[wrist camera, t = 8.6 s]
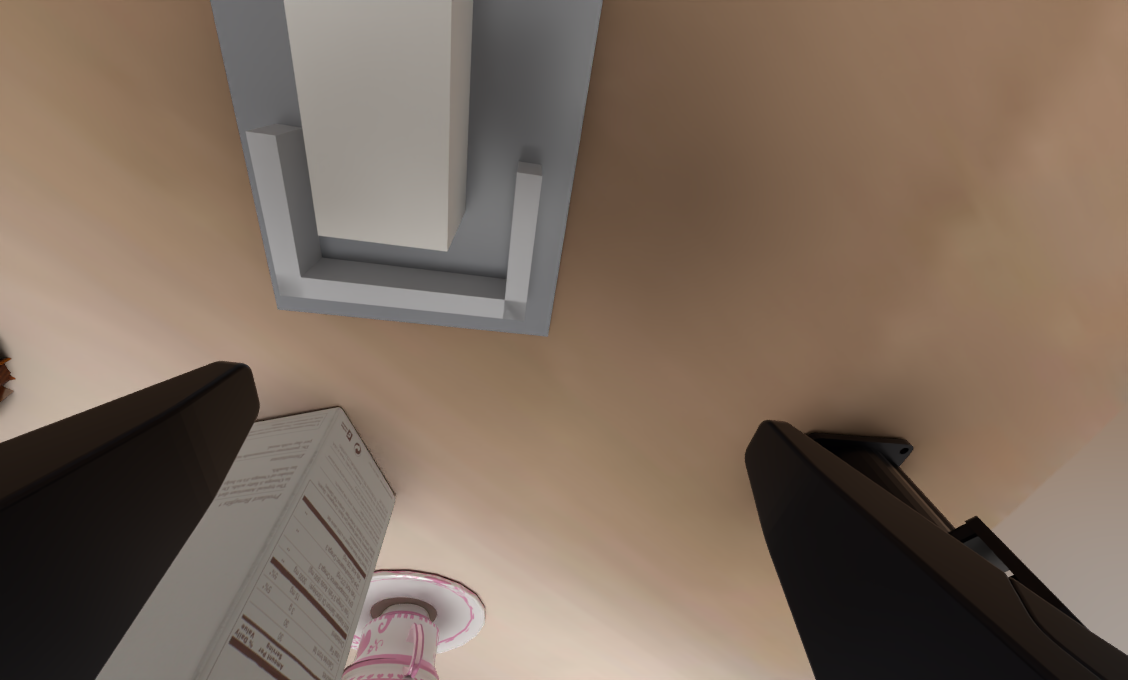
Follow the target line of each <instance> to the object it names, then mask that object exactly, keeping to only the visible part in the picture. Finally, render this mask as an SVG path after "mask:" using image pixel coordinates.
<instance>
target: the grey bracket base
mask: <svg viewBox="0 0 1128 680" xmlns="http://www.w3.org/2000/svg"><path fill="white" fill-rule="evenodd" d="M210 2H211V6H212V11H213V16H214V20H215V25H216V29H217V34H218V38H219V43H220V48H221V52H222V57H223V61H224V66H225V70H226V75H227V79H228V84H229V89H230V93H231V98H232V102H233V107H234V111H235V116H236V121H237V125H238V130H239V134H240V139H241V143H242V148H243V153H244V157H245V162H246V166H247V171H248V175H249V180H250V185H251V189H252V194H253V198H254V203H255V207H256V212H257V216H258V221H259V226H260V230H261V235H262V239H263V244H264V248H265V253H266V258H267V262H268V267H269V271H270V276H271V280H272V285H273V290H274V294H275V299H276V303H277V308H278V309H279V310H289V311H299V312H309V313H319V314H329V315H339V316H349V317H359V318H369V319H379V320H389V321H399V322H409V323H419V324H429V325H439V326H448V327H458V328H468V329H478V330H488V331H498V332H508V333H518V334H528V335H538V336H548V332H549V326H550V320H551V314H552V308H553V302H554V296H555V289H556V283H557V277H558V271H559V265H560V259H561V253H562V247H563V240H564V234H565V228H566V222H567V216H568V210H569V204H570V198H571V192H572V185H573V179H574V173H575V167H576V161H577V155H578V149H579V143H580V136H581V130H582V124H583V118H584V112H585V106H586V100H587V94H588V88H589V81H590V75H591V69H592V63H593V57H594V51H595V45H596V39H597V32H598V26H599V20H600V14H601V8H602V2H603V0H473V19H472V45H471V71H470V98H469V124H468V150H467V177H466V203H465V213H464V215H463V217H462V220H461V222H460V224H459V226H458V229H457V231H456V233H455V235H454V238H453V240H452V242H451V244H450V247H449V249H448V251H447V252H446V251H438V250H430V249H422V248H414V247H406V246H398V245H390V244H382V243H374V242H366V241H358V240H350V239H342V238H334V237H326V236H318V232H317V225H316V218H315V211H314V204H313V198H312V191H311V184H310V177H309V170H308V164H307V157H306V150H305V143H304V136H303V129H302V123H301V116H300V109H299V102H298V95H297V89H296V82H295V75H294V68H293V61H292V54H291V48H290V41H289V34H288V27H287V20H286V14H285V7H284V0H210Z"/></svg>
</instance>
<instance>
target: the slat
mask: <svg viewBox="0 0 1128 680" xmlns="http://www.w3.org/2000/svg"><path fill="white" fill-rule="evenodd" d="M284 7H285V14H286V20H287V27H288V34H289V41H290V48H291V54H292V61H293V68H294V75H295V82H296V89H297V95H298V102H299V109H300V116H301V123H302V129H303V136H304V143H305V150H306V157H307V164H308V170H309V177H310V184H311V191H312V198H313V204H314V211H315V218H316V225H317V232H318V236H326V237H334V238H342V239H350V240H358V241H366V242H374V243H382V244H390V245H398V246H406V247H414V248H422V249H430V250H438V251H446V252H447V251H448V249H449V247H450V244H451V242H452V240H453V238H454V235H455V233H456V231H457V229H458V226H459V224H460V222H461V220H462V217H463V215H464V213H465V203H466V177H467V150H468V124H469V98H470V71H471V45H472V19H473V0H284Z"/></svg>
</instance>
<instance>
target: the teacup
mask: <svg viewBox="0 0 1128 680" xmlns="http://www.w3.org/2000/svg"><path fill="white" fill-rule="evenodd" d="M394 597H407V598H414V599H419V600H422V601H425V602H427V603H429V604H430V605H432V606H433V607H434V608H435V609H436V611H437V617H436V618H435V620H434V621H433V622H431V621H430V618H429V615H428V612H427V611H426V610H425V609H424V608H423V607H420V606H418V605H414V604H405V603H404V604H395V605H392V606H390V607H388V608H386V609H385V610H384V612H383V613H382V614H381V615H380V617H377V618H375V619H373V618H372V617H371V613H370V610H371V608H372V606H373V605H375V604H376V603H377V602H379V601H382V600H384V599H389V598H394ZM484 624H485V607H484V606H483V604H482V603H481V601H480V600H479V598H478V597H477V595H476V594H474V593H473V592H471V591H470V590H468V589H467V588H465V587H464V586H462V585H461V584H459V583H456V582H453V581H451V580H448V579H445V578H442V577H440V576H437V575H431V574H425V573H418V572H412V571H378V572H374V573H373V576H372V579H371V582H370V586H369V589H368V592H367V595H366V599H365V602H364V605H363V608H362V612H361V615H360V618H359V622H358V625H357V628H356V631H355V634H354V638H353V641H352V645H351V648H352V649H356V650H357V653H356V656H355V659H354V661H353V662H352V664H351V665H350V666H348V667H347V668H345V669H344V671H343V675H342V678H341V680H439V677H438V674H437V671H436V668H435V658H436V654H437V653H443V652H446V651H449V650H451V649H454V648H457V647H460V646H462V645H464V644H465V643H467V642H468V641H470V640H471V639H473V638H474V637H476V636H477V635H478V633H479V632H480V630H481V629H482V627H483V626H484Z"/></svg>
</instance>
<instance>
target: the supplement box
mask: <svg viewBox="0 0 1128 680" xmlns="http://www.w3.org/2000/svg"><path fill="white" fill-rule="evenodd" d="M394 503H395V497H394V495H393V492H392V490H391V489H390V487H389V485H388V483H387V482H386V480H385V479H384V477H383V475H382V473H381V472H380V470H379V468H378V467H377V465H376V463H375V462H374V460H373V458H372V457H371V455H370V453H369V452H368V450H367V448H366V447H365V445H364V443H363V442H362V440H361V438H360V437H359V435H358V433H357V432H356V430H355V429H354V427H353V425H352V424H351V422H350V421H349V419H348V417H347V416H346V414H345V413H344V411H343V410H342V409H341V408H340V407H336V408H331V409H326V410H320V411H315V412H310V413H304V414H299V415H294V416H288V417H282V418H277V419H272V420H266V421H261V422H255V423H254V424H253V426H252V428H251V430H250V432H249V434H248V436H247V438H246V440H245V442H244V443H243V445H242V447H241V449H240V451H239V453H238V455H237V457H236V459H235V461H234V463H233V465H232V467H231V469H230V470H229V472H228V474H227V476H226V478H225V480H224V482H223V484H222V486H221V488H220V490H219V491H218V493H217V495H216V497H215V498H214V500H213V502H212V503H211V505H210V507H209V508H208V510H207V511H206V513H205V515H204V516H203V518H202V519H201V521H200V522H199V524H198V525H197V527H196V528H195V530H194V531H193V533H192V534H191V536H190V537H189V539H188V540H187V542H186V543H185V545H184V546H183V548H182V549H181V551H180V552H179V554H178V555H177V557H176V558H175V560H174V561H173V563H172V564H171V566H170V567H169V569H168V570H167V572H166V573H165V575H164V577H163V578H162V580H161V581H160V583H159V584H158V586H157V587H156V589H155V590H154V592H153V593H152V595H151V596H150V598H149V599H148V601H147V602H146V604H145V605H144V607H143V608H142V610H141V611H140V613H139V614H138V616H137V617H136V619H135V620H134V622H133V623H132V625H131V626H130V628H129V629H128V631H127V632H126V634H125V635H124V637H123V638H122V640H121V641H120V643H119V644H118V646H117V647H116V649H115V651H114V652H113V654H112V655H111V657H110V658H109V660H108V661H107V663H106V664H105V666H104V667H103V669H102V670H101V672H100V673H99V675H98V676H97V678H96V679H95V680H341V678H342V675H343V671H344V668H345V665H346V661H347V658H348V655H349V652H350V648H351V645H352V641H353V638H354V634H355V631H356V628H357V625H358V622H359V618H360V615H361V612H362V608H363V605H364V602H365V599H366V595H367V592H368V589H369V586H370V582H371V579H372V576H373V573H374V570H375V566H376V563H377V559H378V556H379V553H380V550H381V546H382V543H383V540H384V537H385V533H386V530H387V527H388V524H389V520H390V517H391V514H392V510H393V507H394Z"/></svg>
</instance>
